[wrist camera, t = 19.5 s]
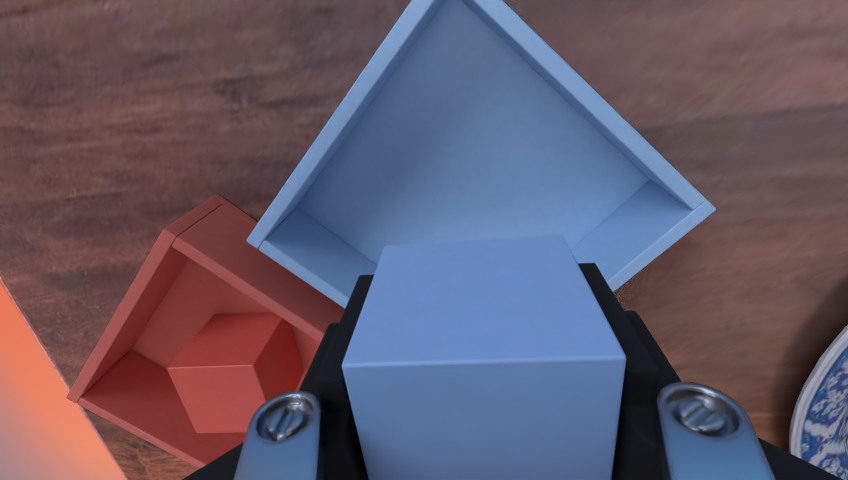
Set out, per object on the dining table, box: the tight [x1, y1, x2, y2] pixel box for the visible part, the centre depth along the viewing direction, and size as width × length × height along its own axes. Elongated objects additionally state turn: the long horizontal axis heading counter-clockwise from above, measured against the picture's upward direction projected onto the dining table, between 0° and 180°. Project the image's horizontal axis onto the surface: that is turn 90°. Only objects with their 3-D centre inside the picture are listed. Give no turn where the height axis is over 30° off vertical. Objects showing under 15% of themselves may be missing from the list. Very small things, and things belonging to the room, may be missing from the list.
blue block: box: [342, 235, 626, 480], centre depth 10 cm, size 4×4×4 cm
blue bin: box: [246, 0, 716, 308], centre depth 19 cm, size 13×13×4 cm
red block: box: [167, 312, 304, 433], centre depth 23 cm, size 4×4×4 cm
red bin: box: [67, 194, 345, 469], centre depth 24 cm, size 13×13×4 cm
